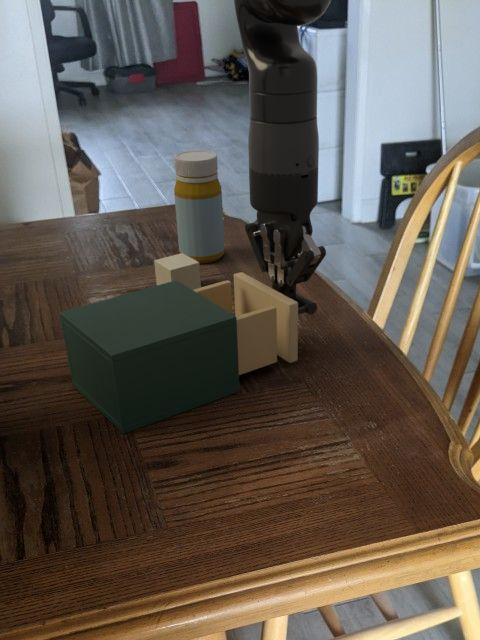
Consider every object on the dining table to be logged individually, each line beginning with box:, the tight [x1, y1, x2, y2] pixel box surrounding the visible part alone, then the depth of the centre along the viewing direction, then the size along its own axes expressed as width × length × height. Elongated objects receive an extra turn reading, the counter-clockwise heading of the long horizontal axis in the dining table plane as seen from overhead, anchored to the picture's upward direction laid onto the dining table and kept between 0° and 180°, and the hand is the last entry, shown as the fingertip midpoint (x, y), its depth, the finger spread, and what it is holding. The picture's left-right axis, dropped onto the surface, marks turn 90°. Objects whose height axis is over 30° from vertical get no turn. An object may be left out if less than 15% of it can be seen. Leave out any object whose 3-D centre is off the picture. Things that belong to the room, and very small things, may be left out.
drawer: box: [193, 271, 318, 376], centre depth 91 cm, size 18×11×7 cm, turn 126°
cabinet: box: [59, 280, 241, 435], centre depth 86 cm, size 15×13×9 cm
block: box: [153, 253, 202, 290], centre depth 109 cm, size 5×5×5 cm
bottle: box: [173, 149, 225, 265], centre depth 117 cm, size 7×7×15 cm
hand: (284, 311), depth 94 cm, fingers closed
